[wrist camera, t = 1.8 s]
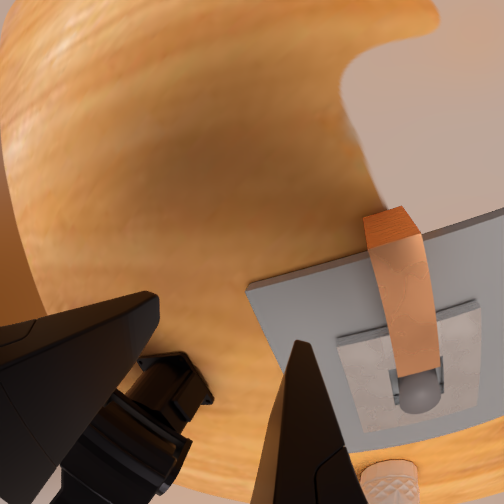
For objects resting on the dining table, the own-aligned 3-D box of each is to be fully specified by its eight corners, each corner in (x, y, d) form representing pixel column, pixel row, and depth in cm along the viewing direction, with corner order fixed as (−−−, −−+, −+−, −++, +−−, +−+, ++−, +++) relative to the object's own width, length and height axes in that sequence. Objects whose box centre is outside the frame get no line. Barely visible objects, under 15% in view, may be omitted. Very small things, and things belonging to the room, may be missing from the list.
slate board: (325, 446, 27) (318, 479, 23) (249, 283, 22) (229, 315, 18) (510, 402, 19) (521, 433, 15) (520, 202, 14) (552, 219, 10)
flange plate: (474, 397, 18) (485, 442, 14) (364, 424, 22) (360, 471, 18) (459, 187, 14) (496, 208, 10) (301, 237, 18) (284, 273, 14)
